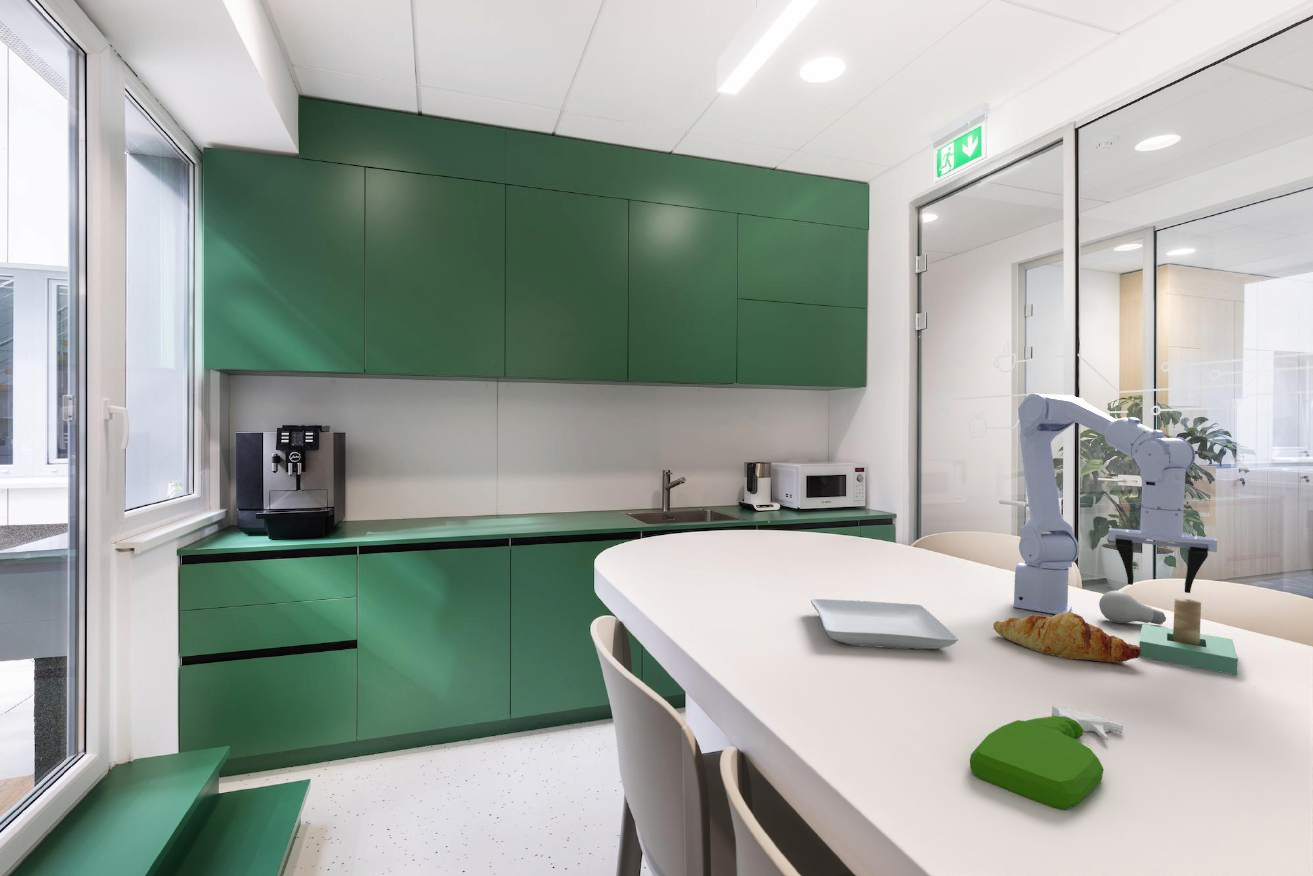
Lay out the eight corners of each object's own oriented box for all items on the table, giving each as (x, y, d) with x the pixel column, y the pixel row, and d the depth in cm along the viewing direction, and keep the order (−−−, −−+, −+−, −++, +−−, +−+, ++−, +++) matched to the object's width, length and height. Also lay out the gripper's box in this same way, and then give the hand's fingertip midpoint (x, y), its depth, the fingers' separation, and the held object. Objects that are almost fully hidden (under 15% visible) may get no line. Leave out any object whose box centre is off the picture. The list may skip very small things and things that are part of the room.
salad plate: (920, 619, 126) (921, 602, 126) (960, 658, 104) (961, 637, 104) (809, 614, 128) (809, 596, 128) (825, 651, 107) (826, 630, 107)
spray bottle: (959, 775, 69) (1036, 713, 86) (1077, 823, 61) (1137, 744, 78) (960, 747, 69) (1037, 690, 86) (1078, 792, 61) (1138, 719, 78)
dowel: (1173, 655, 107) (1175, 601, 107) (1172, 650, 110) (1174, 597, 110) (1199, 660, 105) (1202, 605, 105) (1198, 654, 108) (1200, 600, 108)
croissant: (988, 659, 114) (982, 623, 111) (1001, 621, 120) (996, 587, 117) (1138, 691, 99) (1136, 651, 97) (1144, 646, 106) (1142, 608, 103)
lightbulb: (1161, 600, 126) (1098, 583, 129) (1177, 607, 120) (1111, 589, 123) (1153, 630, 126) (1090, 613, 129) (1169, 639, 120) (1103, 621, 123)
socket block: (1138, 656, 106) (1139, 640, 106) (1141, 638, 116) (1142, 624, 116) (1237, 674, 99) (1237, 658, 99) (1231, 654, 108) (1232, 639, 108)
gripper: (1108, 506, 112) (1105, 584, 112) (1219, 515, 103) (1215, 600, 103) (1111, 502, 117) (1108, 577, 118) (1217, 511, 108) (1213, 591, 109)
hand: (1158, 587), depth 111 cm, fingers open, 7 cm apart
